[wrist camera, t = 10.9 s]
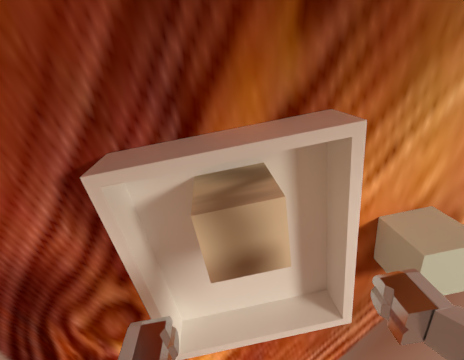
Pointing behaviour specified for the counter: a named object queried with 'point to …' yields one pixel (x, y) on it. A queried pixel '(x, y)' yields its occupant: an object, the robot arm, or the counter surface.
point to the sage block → (423, 247)
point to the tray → (187, 246)
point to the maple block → (240, 222)
